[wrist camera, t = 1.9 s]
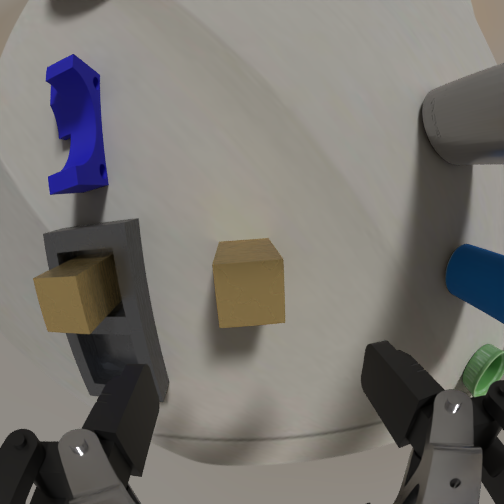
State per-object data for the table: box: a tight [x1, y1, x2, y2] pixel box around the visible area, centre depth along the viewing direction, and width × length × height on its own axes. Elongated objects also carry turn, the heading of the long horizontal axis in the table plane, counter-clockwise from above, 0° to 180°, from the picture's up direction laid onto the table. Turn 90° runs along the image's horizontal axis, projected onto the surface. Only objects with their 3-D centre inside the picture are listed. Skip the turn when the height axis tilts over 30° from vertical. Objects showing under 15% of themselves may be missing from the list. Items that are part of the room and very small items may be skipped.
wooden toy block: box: [212, 238, 285, 328], centre depth 22 cm, size 4×4×8 cm
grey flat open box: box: [43, 218, 169, 402], centre depth 24 cm, size 9×18×4 cm, turn 4°
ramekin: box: [463, 344, 504, 397], centre depth 30 cm, size 9×9×4 cm
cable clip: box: [46, 54, 109, 195], centre depth 19 cm, size 12×4×6 cm, turn 9°
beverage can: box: [446, 244, 504, 324], centre depth 22 cm, size 6×6×12 cm
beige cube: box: [33, 252, 122, 334], centre depth 21 cm, size 4×4×8 cm
